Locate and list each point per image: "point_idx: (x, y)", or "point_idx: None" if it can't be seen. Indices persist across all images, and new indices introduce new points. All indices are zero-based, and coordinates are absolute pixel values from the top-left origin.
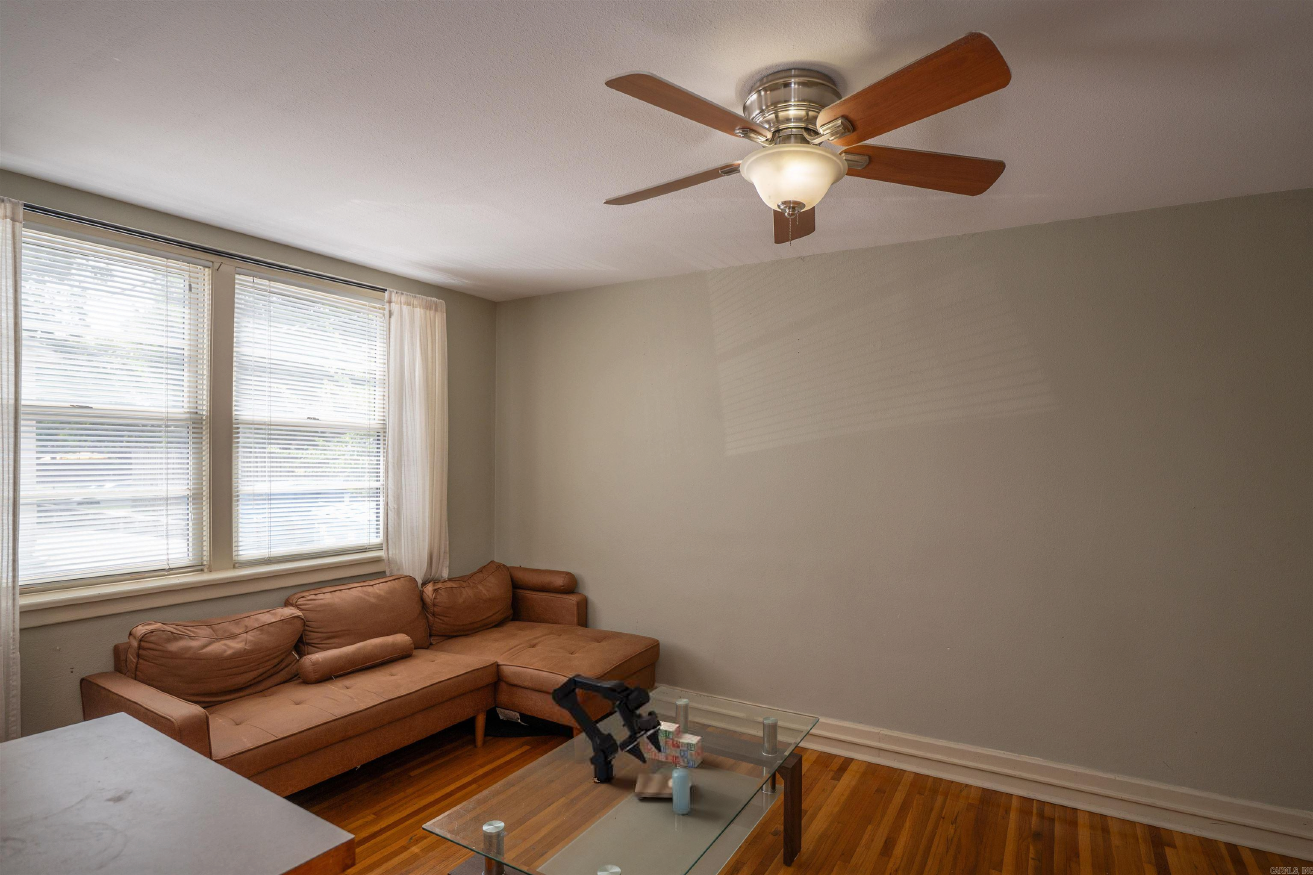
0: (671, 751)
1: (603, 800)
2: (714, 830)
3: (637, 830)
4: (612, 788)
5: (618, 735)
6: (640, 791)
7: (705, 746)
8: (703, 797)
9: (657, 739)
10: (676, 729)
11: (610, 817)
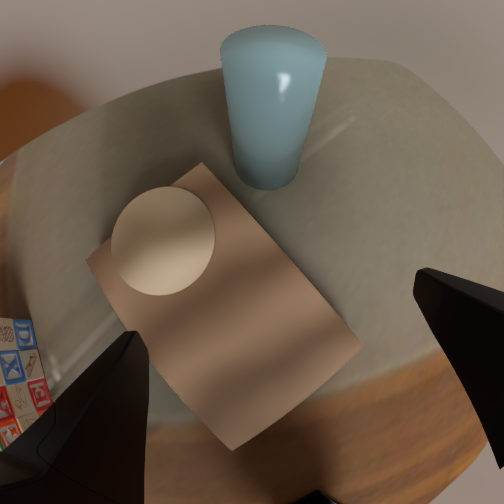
0: (30, 420)
1: (415, 414)
2: None
3: (438, 196)
4: (340, 462)
5: None
6: (344, 330)
7: None
8: (150, 165)
9: (62, 427)
10: None
11: None
